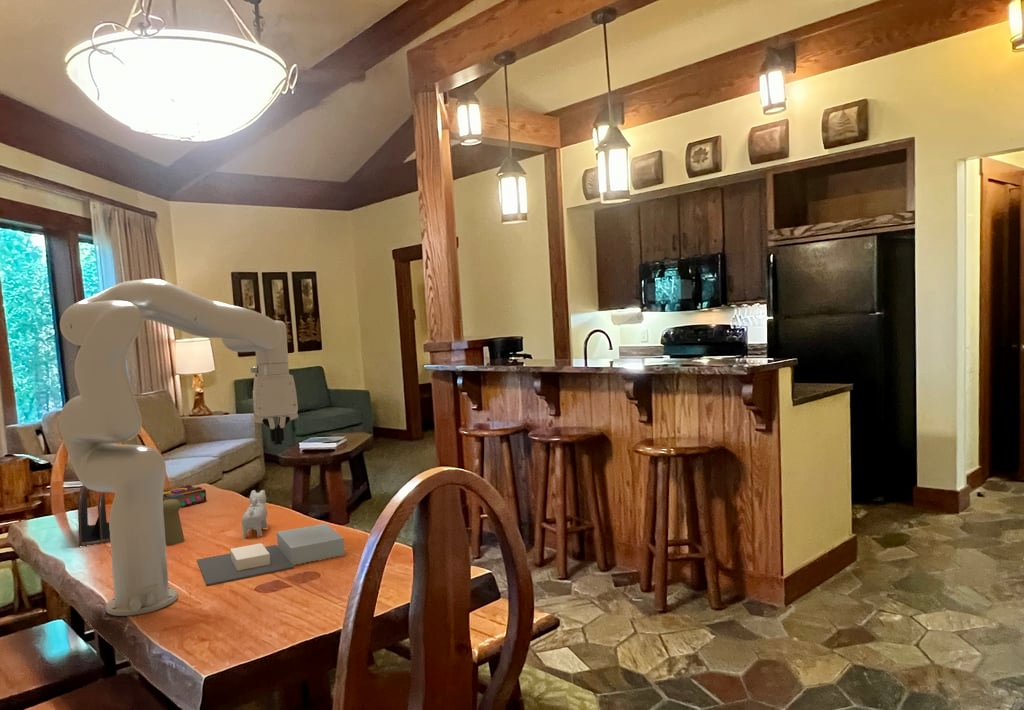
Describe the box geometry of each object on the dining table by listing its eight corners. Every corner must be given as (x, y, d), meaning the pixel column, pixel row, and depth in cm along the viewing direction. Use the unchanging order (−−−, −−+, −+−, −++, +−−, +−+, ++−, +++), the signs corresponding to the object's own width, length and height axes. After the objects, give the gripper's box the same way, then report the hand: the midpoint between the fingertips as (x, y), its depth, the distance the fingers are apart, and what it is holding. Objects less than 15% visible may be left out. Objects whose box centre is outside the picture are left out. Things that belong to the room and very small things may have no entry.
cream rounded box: (236, 560, 156) (237, 570, 156) (269, 553, 159) (270, 564, 159) (230, 548, 165) (231, 559, 165) (261, 543, 168) (262, 553, 168)
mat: (294, 568, 157) (294, 566, 157) (206, 586, 148) (206, 584, 148) (276, 546, 174) (276, 544, 174) (197, 561, 166) (196, 559, 166)
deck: (344, 555, 165) (343, 538, 165) (292, 565, 159) (291, 548, 159) (326, 539, 179) (325, 523, 178) (277, 548, 173) (276, 532, 173)
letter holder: (79, 548, 182) (75, 494, 182) (85, 530, 200) (82, 481, 199) (123, 541, 187) (119, 488, 186) (125, 524, 204) (122, 476, 204)
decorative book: (184, 497, 237) (183, 482, 237) (209, 503, 227) (208, 487, 227) (150, 505, 228) (149, 489, 228) (174, 511, 218) (173, 495, 218)
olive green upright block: (156, 546, 179) (153, 504, 179) (161, 540, 185) (158, 498, 185) (182, 543, 181) (179, 501, 180) (186, 537, 187) (183, 496, 186)
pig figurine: (271, 524, 195) (269, 486, 195) (262, 537, 183) (259, 497, 182) (251, 526, 195) (249, 488, 194) (241, 539, 182) (238, 498, 182)
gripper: (243, 373, 168) (248, 449, 168) (307, 368, 175) (311, 442, 176) (238, 372, 174) (243, 446, 175) (300, 368, 182) (304, 438, 182)
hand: (277, 444), depth 175 cm, fingers closed
